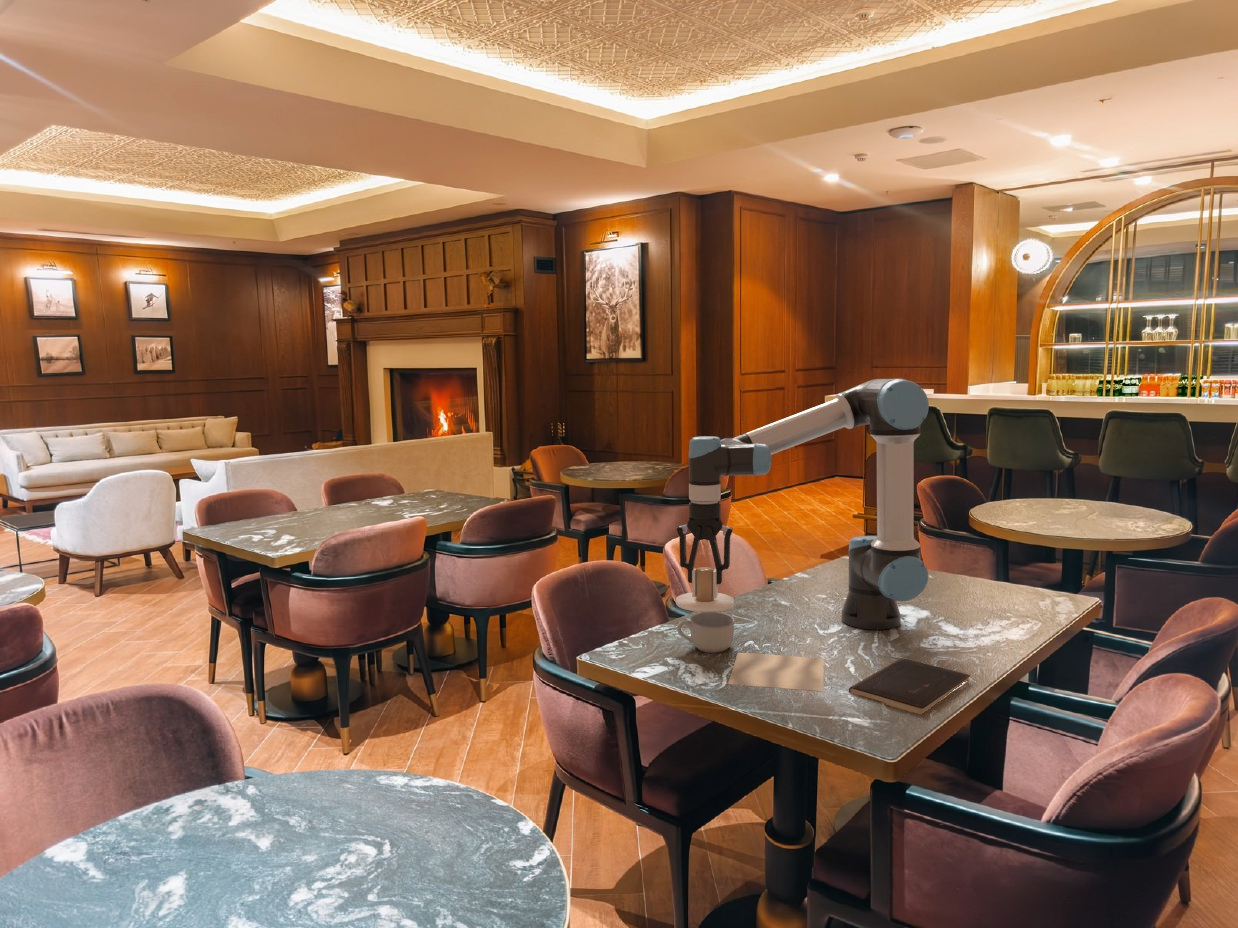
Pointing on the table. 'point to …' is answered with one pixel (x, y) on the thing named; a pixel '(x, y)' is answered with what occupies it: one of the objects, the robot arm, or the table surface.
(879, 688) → the hardcover book
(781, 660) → the mat
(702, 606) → the lid
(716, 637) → the teacup
